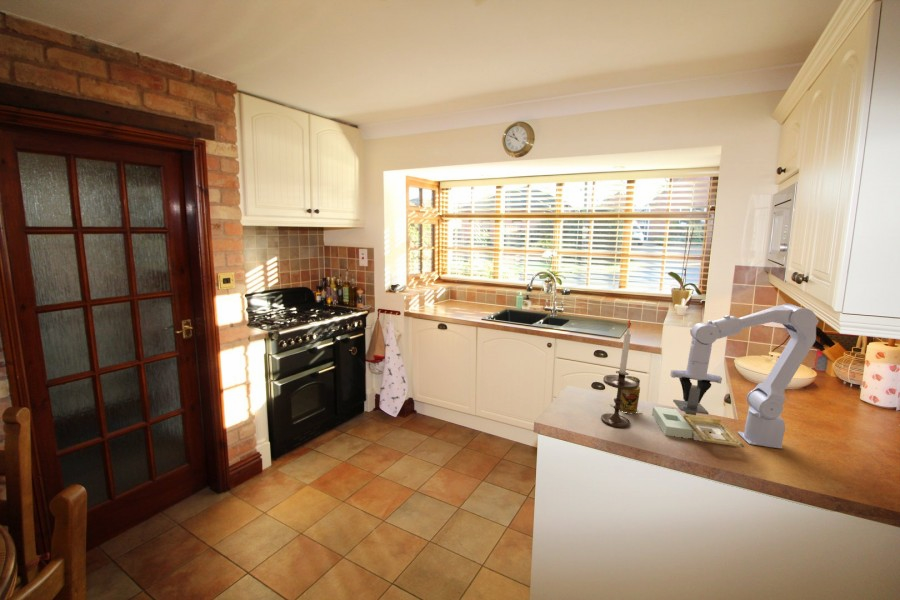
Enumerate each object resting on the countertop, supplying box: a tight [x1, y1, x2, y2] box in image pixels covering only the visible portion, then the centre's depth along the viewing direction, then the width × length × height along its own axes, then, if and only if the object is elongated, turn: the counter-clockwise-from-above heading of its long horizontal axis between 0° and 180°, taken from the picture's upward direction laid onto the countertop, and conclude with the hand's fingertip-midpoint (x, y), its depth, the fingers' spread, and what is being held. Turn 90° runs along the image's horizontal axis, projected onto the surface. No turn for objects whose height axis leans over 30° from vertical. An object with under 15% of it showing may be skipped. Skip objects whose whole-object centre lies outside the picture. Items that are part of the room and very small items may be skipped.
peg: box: [672, 384, 709, 415], centre depth 139 cm, size 8×8×9 cm
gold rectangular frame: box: [682, 413, 745, 448], centre depth 135 cm, size 11×18×2 cm, turn 169°
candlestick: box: [600, 319, 640, 429], centre depth 140 cm, size 11×11×35 cm
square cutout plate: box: [651, 406, 693, 439], centre depth 142 cm, size 8×16×3 cm, turn 169°
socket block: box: [686, 421, 735, 443], centre depth 138 cm, size 11×11×2 cm
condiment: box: [609, 375, 643, 415], centre depth 154 cm, size 7×8×12 cm
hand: (691, 401), depth 139 cm, fingers closed on peg, 3 cm apart
